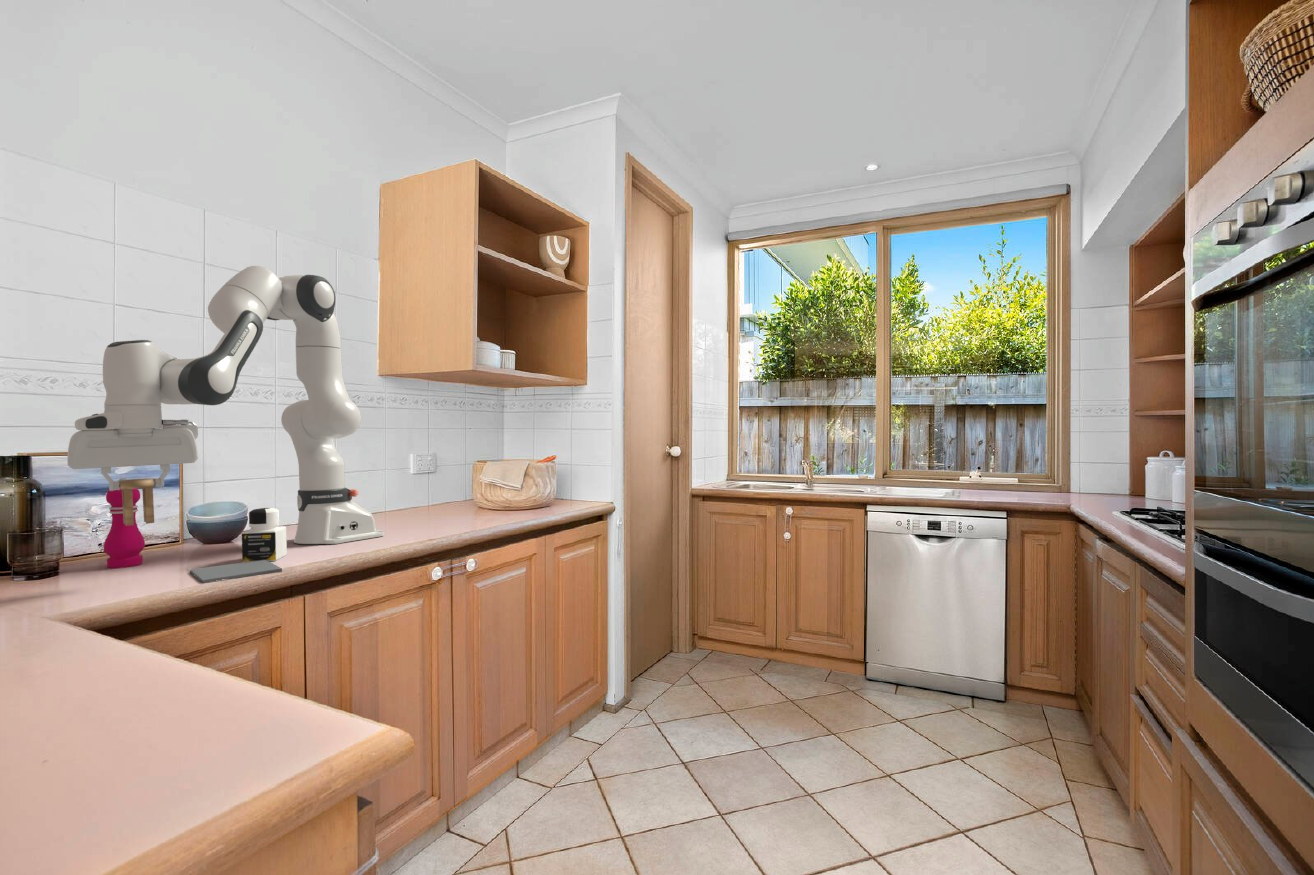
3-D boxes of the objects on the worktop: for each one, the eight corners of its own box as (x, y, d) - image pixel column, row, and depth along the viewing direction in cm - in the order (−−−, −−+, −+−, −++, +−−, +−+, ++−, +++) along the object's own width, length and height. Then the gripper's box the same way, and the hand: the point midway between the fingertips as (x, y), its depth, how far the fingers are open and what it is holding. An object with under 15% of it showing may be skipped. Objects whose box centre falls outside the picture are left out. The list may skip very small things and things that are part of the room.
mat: (264, 562, 145) (264, 559, 145) (282, 571, 135) (282, 568, 135) (190, 572, 135) (190, 569, 135) (203, 583, 126) (202, 580, 125)
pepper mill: (153, 562, 147) (151, 476, 147) (124, 568, 140) (122, 479, 140) (125, 561, 148) (123, 476, 148) (95, 568, 141) (92, 479, 140)
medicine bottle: (241, 563, 145) (240, 511, 144) (254, 557, 152) (253, 507, 151) (275, 561, 146) (274, 509, 146) (287, 555, 153) (286, 506, 153)
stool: (154, 519, 131) (152, 477, 131) (158, 522, 127) (156, 479, 127) (119, 523, 127) (117, 480, 127) (122, 526, 123) (120, 481, 123)
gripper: (194, 419, 136) (197, 483, 136) (64, 421, 122) (68, 492, 122) (200, 419, 132) (203, 484, 132) (66, 420, 117) (70, 494, 118)
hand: (137, 488), depth 127 cm, fingers closed on stool, 6 cm apart
